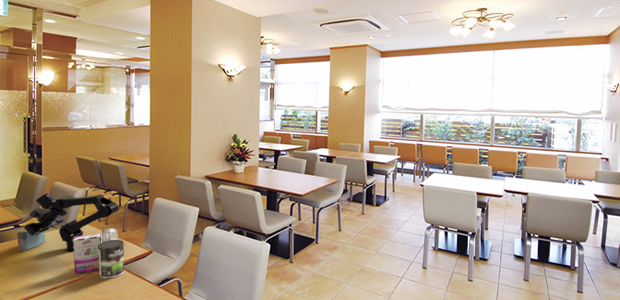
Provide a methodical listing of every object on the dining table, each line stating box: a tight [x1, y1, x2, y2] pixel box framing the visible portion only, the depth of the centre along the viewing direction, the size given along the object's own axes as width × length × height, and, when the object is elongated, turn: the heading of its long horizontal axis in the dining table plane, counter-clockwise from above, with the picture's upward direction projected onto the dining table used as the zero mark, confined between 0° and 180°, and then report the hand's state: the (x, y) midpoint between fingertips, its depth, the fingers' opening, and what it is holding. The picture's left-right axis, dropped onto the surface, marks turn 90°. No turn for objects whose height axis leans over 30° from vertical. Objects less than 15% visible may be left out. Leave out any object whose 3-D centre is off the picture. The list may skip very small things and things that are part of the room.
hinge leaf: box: [20, 231, 46, 253], centre depth 187 cm, size 2×13×10 cm, turn 174°
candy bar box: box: [72, 232, 102, 275], centre depth 163 cm, size 11×5×16 cm, turn 117°
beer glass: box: [101, 227, 119, 242], centre depth 175 cm, size 7×7×15 cm
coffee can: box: [98, 239, 126, 279], centre depth 161 cm, size 10×10×14 cm
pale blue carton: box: [16, 229, 26, 252], centre depth 188 cm, size 4×14×10 cm, turn 174°
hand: (35, 234), depth 188 cm, fingers closed on hinge leaf
